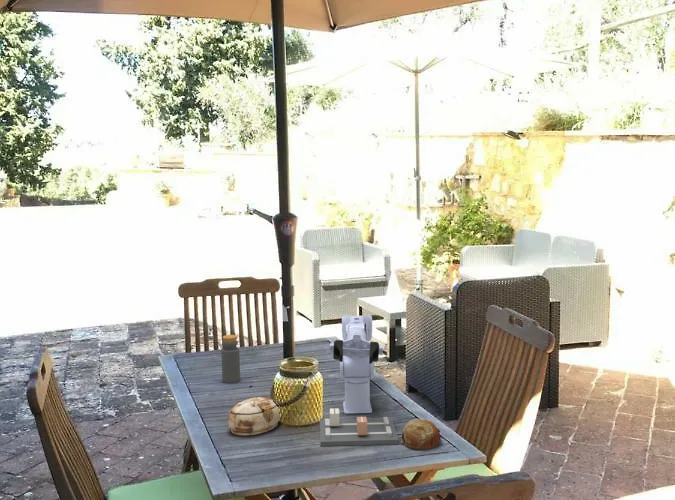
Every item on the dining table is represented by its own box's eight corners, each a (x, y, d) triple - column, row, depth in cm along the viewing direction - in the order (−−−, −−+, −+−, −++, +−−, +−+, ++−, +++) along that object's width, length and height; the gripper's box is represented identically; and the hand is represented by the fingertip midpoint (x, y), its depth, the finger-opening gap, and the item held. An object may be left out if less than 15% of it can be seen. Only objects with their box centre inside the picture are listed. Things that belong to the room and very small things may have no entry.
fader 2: (356, 429, 204) (356, 416, 203) (366, 429, 204) (366, 416, 203) (357, 435, 200) (357, 421, 199) (367, 435, 200) (367, 421, 199)
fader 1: (330, 420, 210) (329, 408, 210) (339, 420, 210) (338, 408, 210) (330, 426, 206) (330, 413, 206) (339, 425, 207) (339, 413, 206)
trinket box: (223, 436, 205) (222, 408, 204) (238, 417, 220) (237, 390, 219) (273, 438, 203) (272, 409, 202) (284, 418, 218) (283, 391, 217)
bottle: (238, 383, 251) (237, 338, 249) (221, 383, 251) (219, 338, 249) (241, 377, 257) (239, 334, 255) (224, 378, 257) (222, 334, 255)
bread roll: (401, 450, 203) (389, 426, 201) (432, 429, 206) (421, 405, 203) (418, 464, 194) (405, 439, 192) (450, 442, 196) (438, 417, 194)
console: (320, 423, 213) (319, 416, 213) (392, 421, 214) (391, 414, 213) (320, 446, 197) (320, 438, 197) (398, 444, 198) (398, 435, 197)
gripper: (331, 328, 215) (329, 343, 201) (383, 330, 214) (384, 346, 201) (330, 352, 216) (328, 368, 203) (381, 354, 216) (383, 371, 202)
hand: (356, 359), depth 202 cm, fingers open, 7 cm apart
